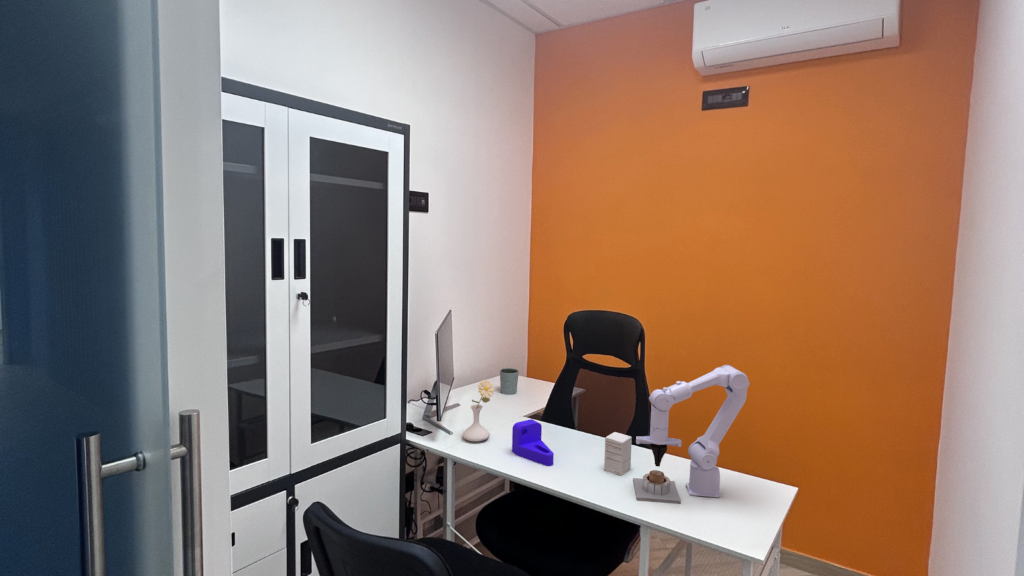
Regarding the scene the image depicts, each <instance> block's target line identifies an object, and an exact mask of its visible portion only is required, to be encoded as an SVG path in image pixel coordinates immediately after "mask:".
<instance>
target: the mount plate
mask: <svg viewBox="0 0 1024 576" xmlns="http://www.w3.org/2000/svg"><path fill="white" fill-rule="evenodd" d="M632 483H633V489H634V492H635V493H634V494H635V497H636V501H642V502H656V503H664V504H665V503H666V504H676V505H677V504H679V505H681V504H682V499H681V498H680V495H679V491H678V488H677V485H676V482H675V480H670V492H669V493H668V494H666V495H653V494H650V493H648V492H646V491H644V490H643V487H642V485H643V478H638V477H637V478H636V477H633V478H632Z"/></svg>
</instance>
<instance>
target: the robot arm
mask: <svg viewBox="0 0 1024 576" xmlns="http://www.w3.org/2000/svg"><path fill="white" fill-rule="evenodd" d="M750 385H751V383H750V381H749V377H748V376H747V374H746V373H745V372H742V370H741V371H740V370H738V369H737V368H735V367H734V366H732V365H730V364H724V365H722V366H719V367H716V368H714V369H713V370H712V371H710V372H708V373H706V374H704V375H701V376H699V377H698V378H696V379H693V380H692V381H689V382H686V381H680V380H677V381H675V384H672V385H670V386H668V387H666V386H664V387H662V389H657V388H656V389H654V390H653V391H652V392H651V393H650V394H649V395H650V396H649V397H648V400H649V403H651V408H650V409H651V411H650V423H649V424H650V431H649V435H644V436H640V435H639V436H635V437H636V438H635V443H636V445H640V444H643V445H650V450H651V451H652V454H653V458H654V466H655V467H658V468H659V467H660V466H661V462H662V461H663V457H664V455H665V454H666V452H667V451H668V446H673V447H678V448H681V447H682V439H680V438H673V437H668V436H669V420H670V419H669V418H670V414H669V413H670V410H671V408H672V406H673V405H675V404H677V403H680V402H682V401H684V400H687V399H689V398H692V395H693V393H695V392H698V391H701V390H704V389H706V388H710V387H713V386H718V387H723V388H724V389H725V392H726V395H727V397H726V398H725V400H724V401H723V403H722V405H721V406H720V408H719V410H718V411H717V413H716V415H715V416H714V418H713V419H712V422H711V423H710V425H709V426H708V428H707V430H706V431H705V433H704V434H703V435H701V436H698V437H697V439H696V440H695V441H693V442H692V443H691V444H690V445H689V446H688V449H687V453H688V455H689V457H690V466H689V483H687V482H686V483H685V486H686V488H687V491H688V493H689V496H695V497H708V498H720V485H721V473H720V468H719V467H718V466H716V465H717V461H718V458H719V455H720V444H721V442H722V440H723V439H724V437H725V435H726V434H727V432H728V430H729V429H730V427H731V426H732V424H733V423H734V421H735V419H736V418H737V416H738V414H739V412H740V411H741V409H742V408H743V406H745V405H744V404H745V403H746V401H747V396H748V388H749V386H750Z"/></svg>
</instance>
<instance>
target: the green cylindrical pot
mask: <svg viewBox="0 0 1024 576" xmlns="http://www.w3.org/2000/svg"><path fill="white" fill-rule="evenodd" d="M519 372H520V371H519V370H518V369H516V368H513V367H505V368H504V367H503V368H501V369H499V383H500V385H499V386H500V393H501V394H502V395H506V396H507V395H508V396H510V395H511V396H512V395H515V394H517V392H518V391H517V390H518V382H519V374H520V373H519Z"/></svg>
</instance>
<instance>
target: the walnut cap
mask: <svg viewBox="0 0 1024 576" xmlns="http://www.w3.org/2000/svg"><path fill="white" fill-rule="evenodd" d="M648 474H649V481H650V482H653V483H658V484H661V483H664V475H665V473H664V471H661V470H658V469H657V470H656V469H653V470H650V471H649V473H648Z"/></svg>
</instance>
